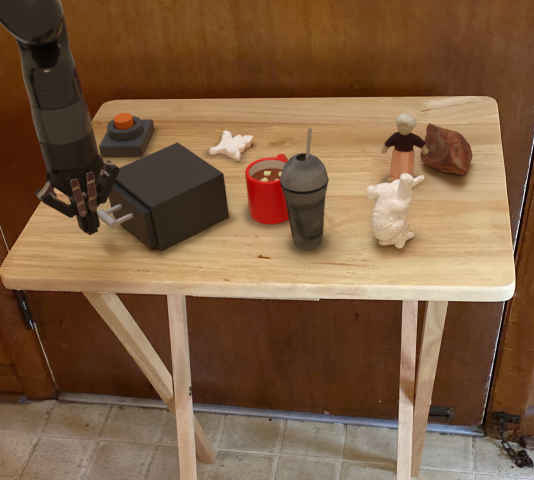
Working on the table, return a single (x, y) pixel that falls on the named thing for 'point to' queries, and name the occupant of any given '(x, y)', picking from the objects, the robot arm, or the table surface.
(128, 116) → the button
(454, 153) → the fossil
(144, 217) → the drawer
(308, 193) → the beverage cup
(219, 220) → the cabinet
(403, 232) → the white rabbit figurine
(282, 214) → the mug
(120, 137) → the control block
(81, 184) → the robot arm
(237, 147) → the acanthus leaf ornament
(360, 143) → the table surface
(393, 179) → the grandmother figurine
